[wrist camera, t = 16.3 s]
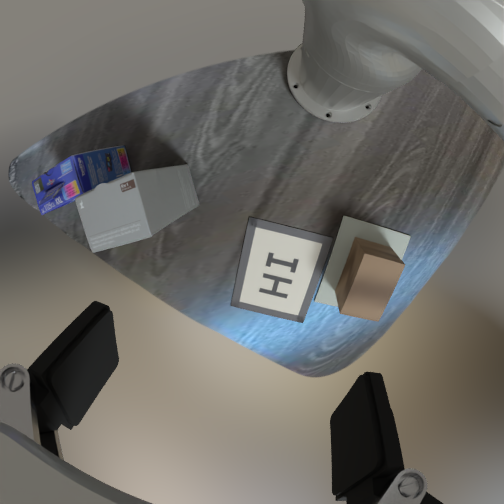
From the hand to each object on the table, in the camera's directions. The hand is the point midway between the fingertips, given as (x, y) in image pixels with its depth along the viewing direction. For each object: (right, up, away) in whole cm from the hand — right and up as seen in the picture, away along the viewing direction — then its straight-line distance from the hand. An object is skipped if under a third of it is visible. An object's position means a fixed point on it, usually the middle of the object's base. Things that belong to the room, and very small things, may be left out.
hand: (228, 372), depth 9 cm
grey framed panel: (+5, +1, +32) cm, 32 cm away
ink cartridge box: (-22, +17, +30) cm, 41 cm away
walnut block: (+17, +2, +30) cm, 34 cm away
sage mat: (+17, +2, +30) cm, 35 cm away
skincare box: (-11, +13, +29) cm, 34 cm away
